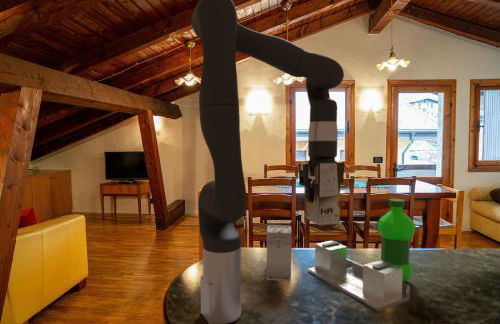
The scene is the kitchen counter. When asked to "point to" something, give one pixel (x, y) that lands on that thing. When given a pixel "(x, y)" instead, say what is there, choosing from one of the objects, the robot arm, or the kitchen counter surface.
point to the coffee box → (324, 194)
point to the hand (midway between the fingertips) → (321, 200)
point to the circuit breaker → (279, 253)
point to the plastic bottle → (396, 237)
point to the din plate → (360, 277)
